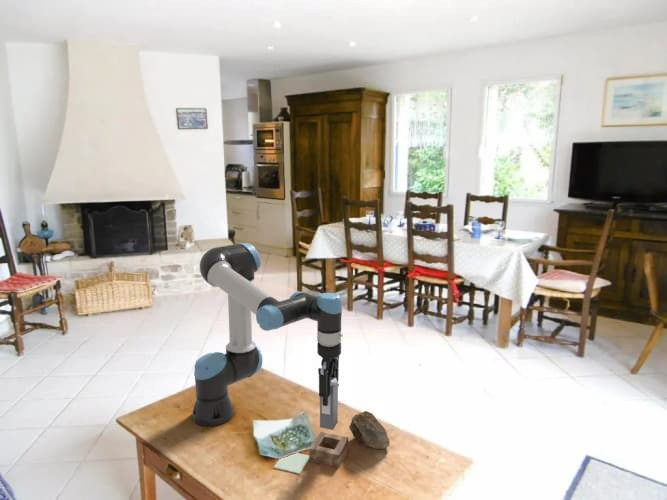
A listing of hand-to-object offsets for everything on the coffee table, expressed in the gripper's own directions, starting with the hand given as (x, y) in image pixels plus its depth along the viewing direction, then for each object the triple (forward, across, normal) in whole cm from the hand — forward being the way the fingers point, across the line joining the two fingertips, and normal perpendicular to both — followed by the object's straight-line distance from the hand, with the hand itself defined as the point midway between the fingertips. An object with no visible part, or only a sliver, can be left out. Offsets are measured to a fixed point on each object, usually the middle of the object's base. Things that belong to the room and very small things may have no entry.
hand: (328, 409), depth 154 cm
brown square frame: (+17, 0, 0) cm, 17 cm away
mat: (+17, -8, +10) cm, 21 cm away
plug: (+6, 0, 0) cm, 6 cm away
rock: (+17, +11, -11) cm, 23 cm away
